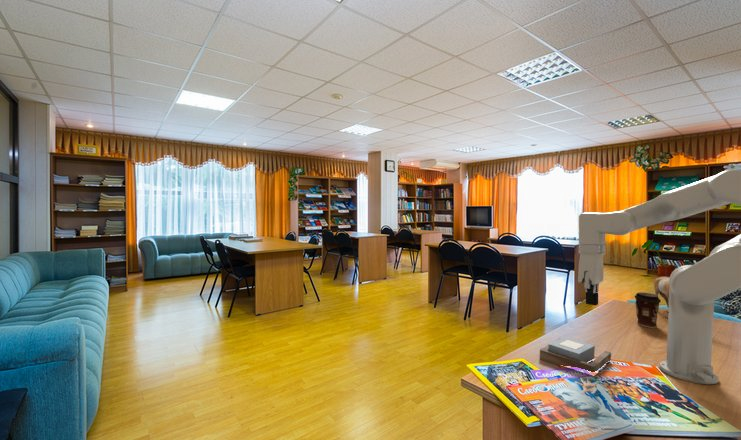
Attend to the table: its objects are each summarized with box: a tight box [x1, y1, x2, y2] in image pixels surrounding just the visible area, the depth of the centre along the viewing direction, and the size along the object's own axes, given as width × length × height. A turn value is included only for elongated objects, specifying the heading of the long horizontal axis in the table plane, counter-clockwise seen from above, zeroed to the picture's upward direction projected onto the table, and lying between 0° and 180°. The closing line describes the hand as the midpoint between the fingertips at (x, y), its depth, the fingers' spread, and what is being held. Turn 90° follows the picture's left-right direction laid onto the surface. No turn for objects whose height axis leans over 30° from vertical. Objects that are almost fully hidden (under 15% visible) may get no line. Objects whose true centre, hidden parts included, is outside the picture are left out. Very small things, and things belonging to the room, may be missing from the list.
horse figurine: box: [653, 276, 670, 313], centre depth 156 cm, size 31×8×21 cm, turn 154°
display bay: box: [539, 337, 612, 372], centre depth 108 cm, size 16×15×3 cm
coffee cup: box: [634, 291, 661, 329], centre depth 143 cm, size 9×8×13 cm
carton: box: [547, 336, 596, 362], centre depth 109 cm, size 11×9×5 cm
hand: (591, 304), depth 115 cm, fingers closed
